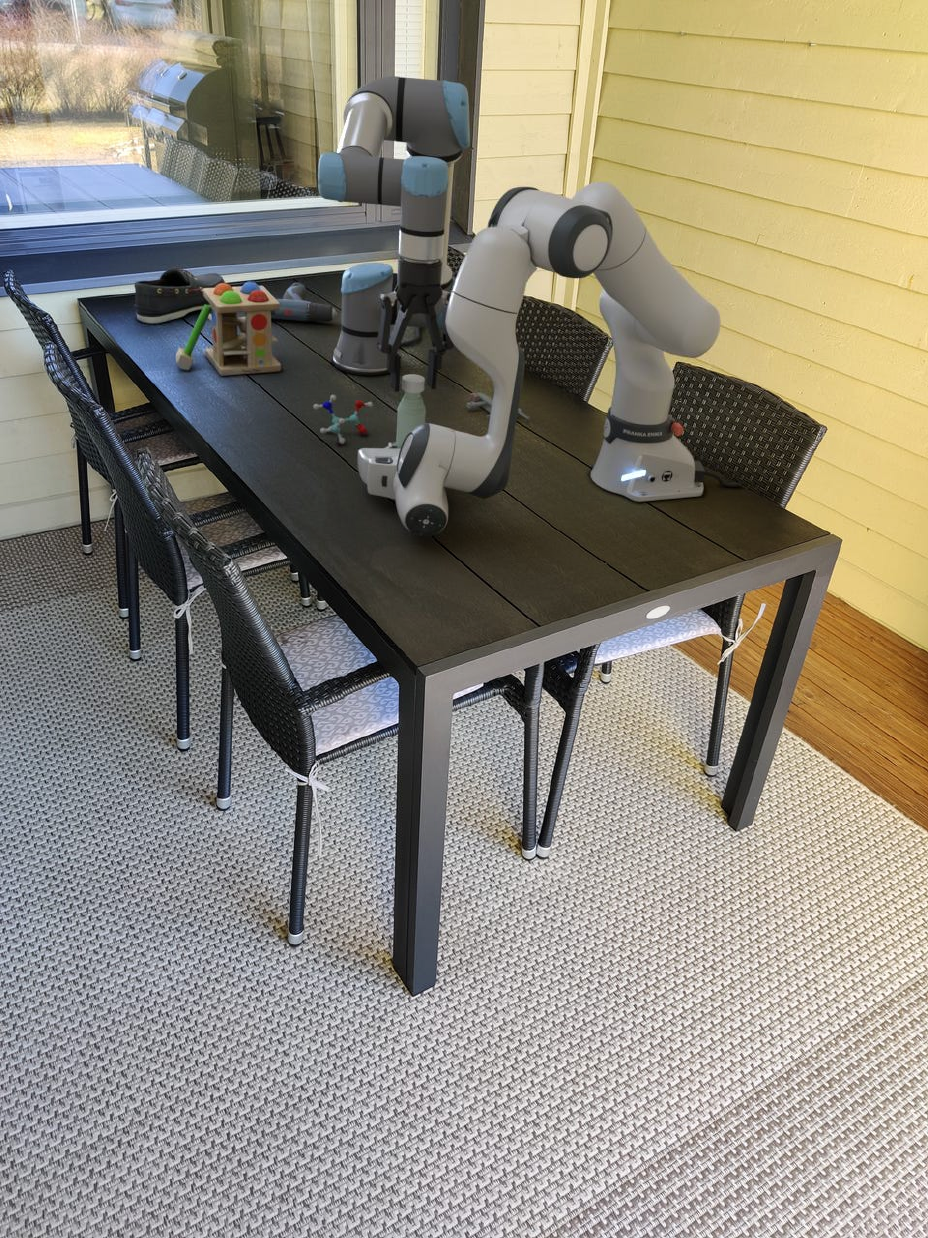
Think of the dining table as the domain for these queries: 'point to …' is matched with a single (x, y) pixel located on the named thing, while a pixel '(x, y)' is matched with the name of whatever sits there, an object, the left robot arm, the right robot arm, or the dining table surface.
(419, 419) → the bottle
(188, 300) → the boat shoe
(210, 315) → the pounding bench toy
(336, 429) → the molecular model
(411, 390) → the cap
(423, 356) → the dining table surface
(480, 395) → the clamp
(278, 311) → the power drill
